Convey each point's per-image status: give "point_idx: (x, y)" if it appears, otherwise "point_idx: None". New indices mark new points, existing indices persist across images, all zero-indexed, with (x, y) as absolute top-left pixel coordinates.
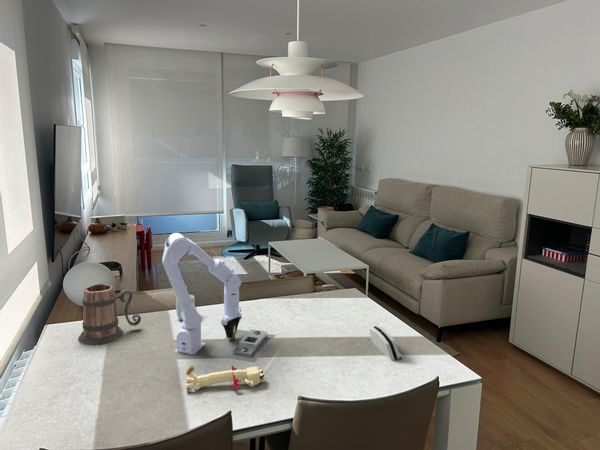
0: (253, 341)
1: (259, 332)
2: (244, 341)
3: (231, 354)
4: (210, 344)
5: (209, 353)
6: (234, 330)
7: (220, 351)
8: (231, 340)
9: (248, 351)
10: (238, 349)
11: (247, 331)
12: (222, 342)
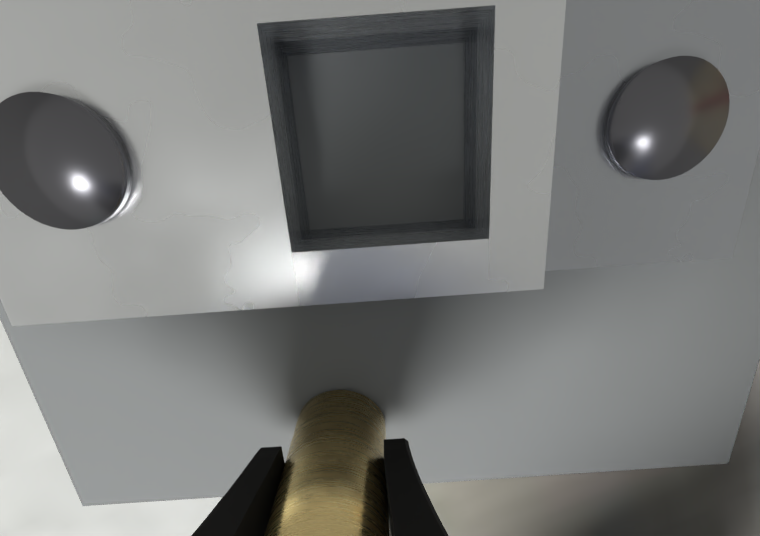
0: (293, 142)
1: (32, 111)
2: (495, 218)
3: (696, 263)
4: (483, 531)
5: (705, 464)
6: (334, 512)
7: (640, 398)
8: (378, 415)
9: (711, 27)
10: (660, 216)
11: (37, 369)
12: (434, 469)
